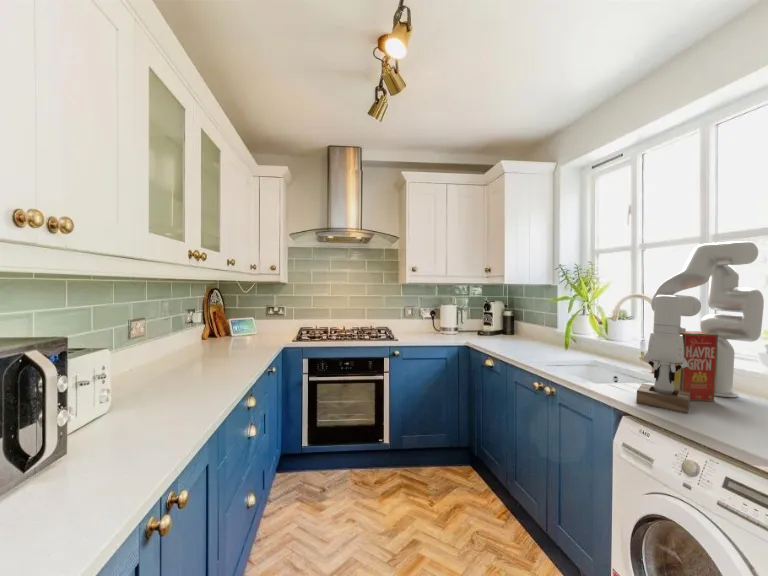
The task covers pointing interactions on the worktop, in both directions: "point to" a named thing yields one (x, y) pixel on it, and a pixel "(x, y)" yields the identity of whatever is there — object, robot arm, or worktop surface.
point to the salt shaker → (664, 379)
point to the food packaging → (698, 366)
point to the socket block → (664, 399)
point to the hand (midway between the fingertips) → (664, 381)
